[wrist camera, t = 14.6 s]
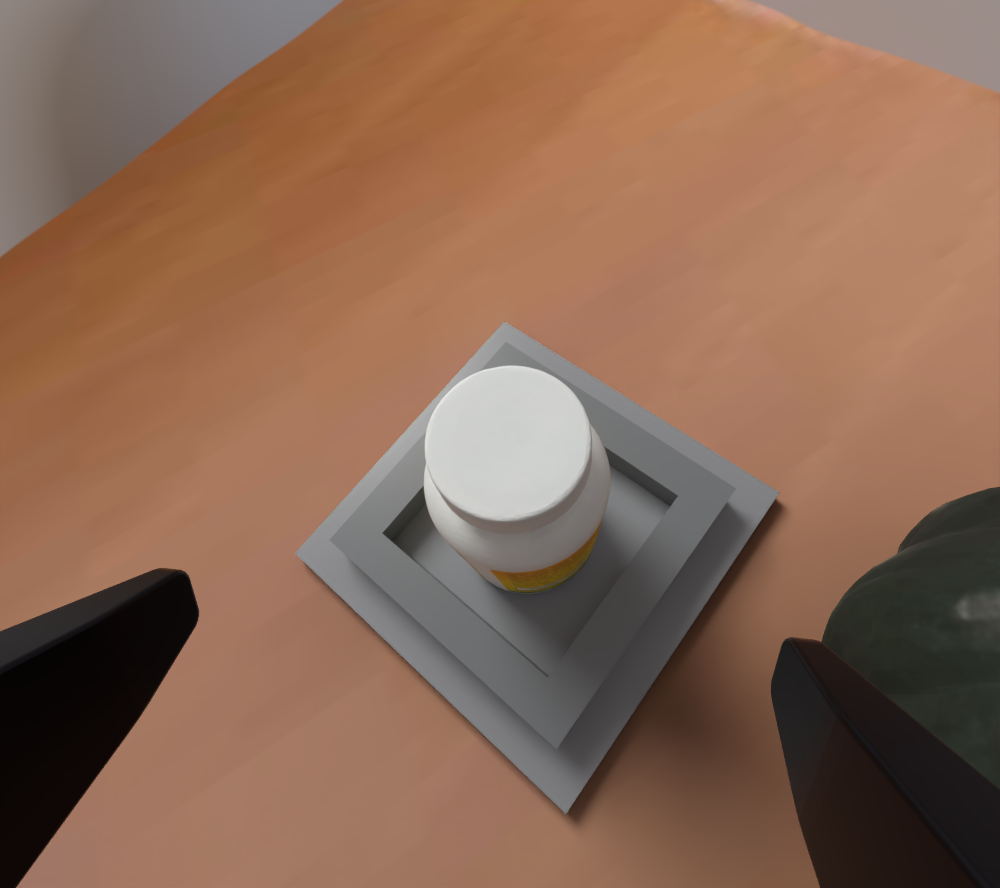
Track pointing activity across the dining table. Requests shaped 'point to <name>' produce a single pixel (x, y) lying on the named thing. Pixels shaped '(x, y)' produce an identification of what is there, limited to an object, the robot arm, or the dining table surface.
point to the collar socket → (554, 613)
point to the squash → (935, 627)
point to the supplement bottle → (516, 477)
